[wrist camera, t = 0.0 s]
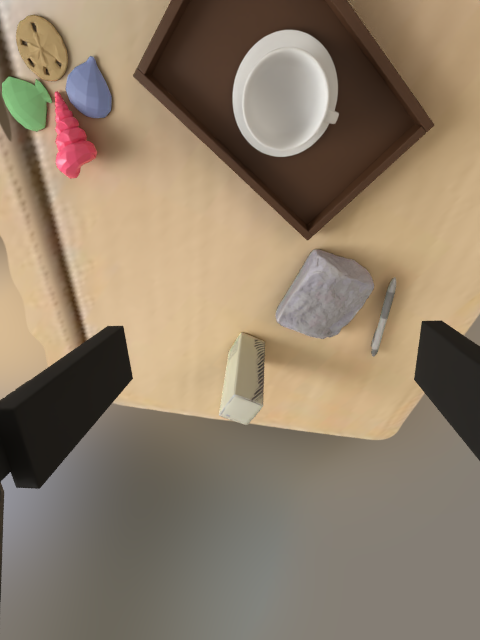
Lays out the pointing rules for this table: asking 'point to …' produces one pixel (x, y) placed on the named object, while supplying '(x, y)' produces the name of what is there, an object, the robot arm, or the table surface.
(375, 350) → the pen
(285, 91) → the teacup
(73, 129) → the toy pieces
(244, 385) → the box
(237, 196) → the table surface
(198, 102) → the tray
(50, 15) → the table surface
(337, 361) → the table surface
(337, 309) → the stone block
